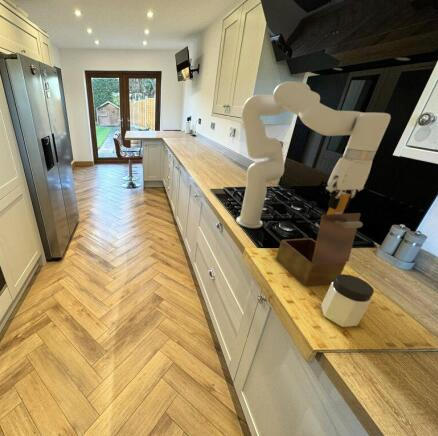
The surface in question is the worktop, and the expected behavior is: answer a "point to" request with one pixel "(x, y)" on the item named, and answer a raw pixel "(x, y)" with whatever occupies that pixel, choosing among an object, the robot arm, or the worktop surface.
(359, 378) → the worktop surface
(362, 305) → the jar
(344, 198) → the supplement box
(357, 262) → the worktop surface
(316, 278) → the chest
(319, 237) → the lid
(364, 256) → the worktop surface
